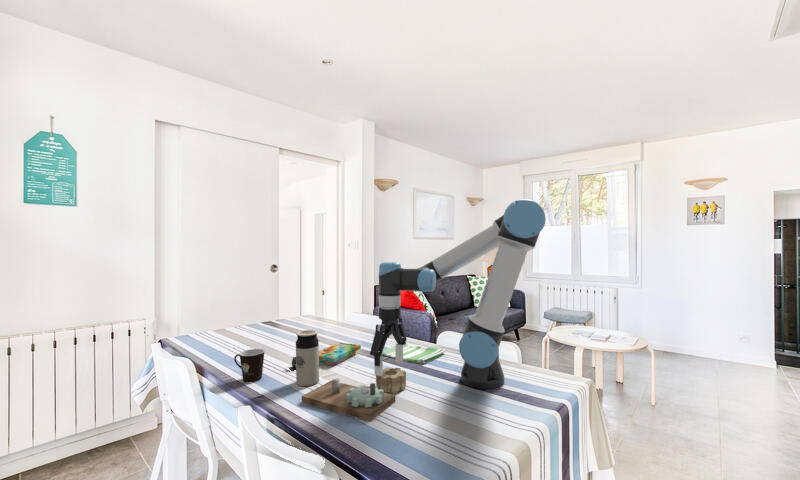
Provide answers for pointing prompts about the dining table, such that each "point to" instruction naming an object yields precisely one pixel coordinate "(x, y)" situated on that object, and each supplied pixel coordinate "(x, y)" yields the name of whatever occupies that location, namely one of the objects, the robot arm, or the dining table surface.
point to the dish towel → (415, 353)
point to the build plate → (293, 364)
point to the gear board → (344, 401)
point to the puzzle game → (337, 353)
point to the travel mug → (307, 358)
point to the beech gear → (392, 380)
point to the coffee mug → (251, 364)
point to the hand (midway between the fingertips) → (389, 368)
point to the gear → (365, 395)
